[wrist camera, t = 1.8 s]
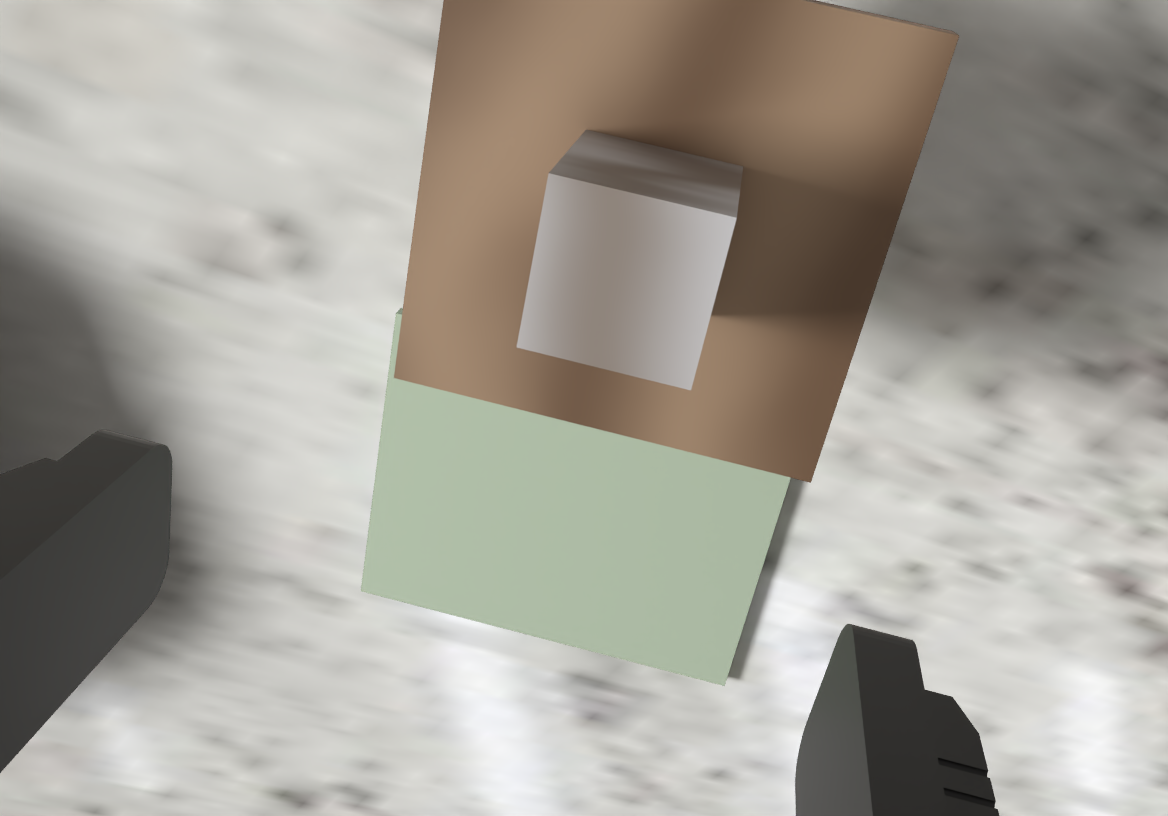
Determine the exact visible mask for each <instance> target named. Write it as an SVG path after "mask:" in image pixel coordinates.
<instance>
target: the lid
mask: <svg viewBox="0 0 1168 816" xmlns="http://www.w3.org/2000/svg"><path fill="white" fill-rule="evenodd" d="M958 38H959V35H958V34H956V33H955V32H953V31H950V30H945V29H941V28H936V27H932V26H927V25H923V24H918V23H914V22H909V21H905V20H900V19H896V18H892V17H887V16H883V15H878V14H874V13H869V12H865V11H860V10H856V9H851V8H847V7H842V6H838V5H834V4H829V3H825V2H820V1H816V0H444V2H443V10H442V17H441V25H440V32H439V40H438V48H437V55H436V63H435V70H434V78H433V85H432V93H431V100H430V108H429V115H428V123H427V131H426V138H425V146H424V153H423V161H422V168H421V176H420V183H419V191H418V199H417V206H416V214H415V221H414V229H413V236H412V244H411V251H410V259H409V266H408V274H407V282H406V289H405V297H404V304H403V312H402V319H401V327H400V334H399V342H398V350H397V357H396V365H395V372H394V378H396V379H400V380H404V381H408V382H412V383H416V384H419V385H423V386H427V387H431V388H435V389H439V390H443V391H447V392H451V393H455V394H459V395H463V396H467V397H471V398H475V399H479V400H483V401H487V402H491V403H495V404H499V405H503V406H507V407H511V408H515V409H519V410H523V411H527V412H531V413H535V414H539V415H543V416H547V417H551V418H555V419H559V420H563V421H567V422H571V423H575V424H579V425H583V426H587V427H591V428H595V429H599V430H603V431H607V432H611V433H615V434H619V435H623V436H627V437H631V438H635V439H639V440H643V441H647V442H651V443H655V444H659V445H663V446H667V447H671V448H675V449H679V450H683V451H687V452H691V453H695V454H699V455H703V456H707V457H711V458H715V459H719V460H723V461H727V462H731V463H735V464H739V465H743V466H747V467H751V468H755V469H759V470H763V471H767V472H771V473H775V474H779V475H783V476H786V477H790V478H794V479H798V480H802V481H806V482H810V483H811V480H812V477H813V474H814V471H815V468H816V465H817V462H818V459H819V456H820V453H821V450H822V447H823V444H824V441H825V438H826V435H827V432H828V429H829V426H830V423H831V420H832V417H833V414H834V411H835V408H836V405H837V402H838V399H839V396H840V393H841V390H842V387H843V384H844V381H845V378H846V375H847V372H848V369H849V366H850V363H851V360H852V357H853V354H854V351H855V348H856V345H857V342H858V339H859V336H860V333H861V330H862V327H863V324H864V321H865V318H866V315H867V312H868V309H869V306H870V303H871V300H872V297H873V294H874V291H875V288H876V285H877V282H878V279H879V276H880V273H881V270H882V267H883V264H884V261H885V258H886V255H887V252H888V249H889V246H890V243H891V240H892V237H893V234H894V231H895V228H896V225H897V222H898V219H899V215H900V212H901V209H902V206H903V203H904V200H905V197H906V194H907V191H908V188H909V185H910V182H911V179H912V176H913V173H914V170H915V167H916V164H917V161H918V158H919V155H920V152H921V149H922V146H923V143H924V140H925V137H926V134H927V131H928V128H929V125H930V122H931V119H932V116H933V113H934V110H935V107H936V104H937V101H938V98H939V95H940V92H941V89H942V86H943V83H944V80H945V77H946V74H947V71H948V68H949V65H950V62H951V59H952V56H953V53H954V50H955V47H956V44H957V41H958Z"/></svg>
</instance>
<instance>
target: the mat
mask: <svg viewBox="0 0 1168 816" xmlns="http://www.w3.org/2000/svg"><path fill="white" fill-rule="evenodd" d="M402 312H403V309H402V308H401V309H400V310H399V311H398V312H397V313H396V317H395V325H394V333H393V341H392V349H391V357H390V365H389V372H388V380H387V388H386V396H385V404H384V412H383V420H382V428H381V436H380V443H379V451H378V459H377V467H376V475H375V483H374V491H373V499H372V507H371V514H370V522H369V530H368V538H367V546H366V554H365V562H364V570H363V578H362V585H361V591H362V592H366V593H370V594H374V595H378V596H381V597H385V598H389V599H393V600H397V601H401V602H404V603H408V604H412V605H416V606H420V607H424V608H427V609H431V610H435V611H439V612H443V613H447V614H450V615H454V616H458V617H462V618H466V619H470V620H473V621H477V622H481V623H485V624H489V625H493V626H496V627H500V628H504V629H508V630H512V631H516V632H519V633H523V634H527V635H531V636H535V637H539V638H542V639H546V640H550V641H554V642H558V643H562V644H565V645H569V646H573V647H577V648H581V649H585V650H588V651H592V652H596V653H600V654H604V655H608V656H611V657H615V658H619V659H623V660H627V661H631V662H635V663H638V664H642V665H646V666H650V667H654V668H658V669H661V670H665V671H669V672H673V673H677V674H681V675H684V676H688V677H692V678H696V679H700V680H704V681H707V682H711V683H715V684H719V685H723V686H725V683H726V680H727V676H728V673H729V670H730V667H731V664H732V661H733V658H734V654H735V651H736V648H737V645H738V642H739V639H740V636H741V633H742V629H743V626H744V623H745V620H746V617H747V614H748V611H749V607H750V604H751V601H752V598H753V595H754V592H755V589H756V586H757V582H758V579H759V576H760V573H761V570H762V567H763V564H764V560H765V557H766V554H767V551H768V548H769V545H770V542H771V538H772V535H773V532H774V529H775V526H776V523H777V520H778V517H779V513H780V510H781V507H782V504H783V501H784V498H785V495H786V491H787V488H788V485H789V482H790V479H791V478H790V477H786V476H783V475H779V474H775V473H771V472H767V471H763V470H759V469H755V468H751V467H747V466H743V465H739V464H735V463H731V462H727V461H723V460H719V459H715V458H711V457H707V456H703V455H699V454H695V453H691V452H687V451H683V450H679V449H675V448H671V447H667V446H663V445H659V444H655V443H651V442H647V441H643V440H639V439H635V438H631V437H627V436H623V435H619V434H615V433H611V432H607V431H603V430H599V429H595V428H591V427H587V426H583V425H579V424H575V423H571V422H567V421H563V420H559V419H555V418H551V417H547V416H543V415H539V414H535V413H531V412H527V411H523V410H519V409H515V408H511V407H507V406H503V405H499V404H495V403H491V402H487V401H483V400H479V399H475V398H471V397H467V396H463V395H459V394H455V393H451V392H447V391H443V390H439V389H435V388H431V387H427V386H423V385H419V384H416V383H412V382H408V381H404V380H400V379H396V378H394V372H395V365H396V357H397V350H398V342H399V334H400V327H401V319H402Z"/></svg>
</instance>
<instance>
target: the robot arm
mask: <svg viewBox="0 0 1168 816" xmlns="http://www.w3.org/2000/svg"><path fill="white" fill-rule="evenodd" d="M171 486H172V457H171V453H170V450H169V449H168V447H167V446H165V445H162V444H159V443H155V442H151V441H147V440H143V439H139V438H135V437H132V436H128V435H124V434H120V433H116V432H112V431H108V430H100V431H97V432H95V433H94V434H92V435H91V436H90V437H88V438H87V439H86V440H85V441H83V442H82V443H81V444H79V445H78V446H77V447H75V448H74V449H73V450H72V451H70V452H69V453H68V454H66V455H65V456H64V457H62V458H61V459H60V460H59V461H54V460H50V459H46V458H45V459H42V460H39V461H36V462H34V463H31V464H28V465H25V466H23V467H20V468H17V469H14V470H12V471H9V472H6V473H3V474H1V475H0V773H1V771H2V770H3V769H4V768H5V767H6V766H7V765H8V764H9V763H10V761H11V760H12V759H13V758H14V757H15V756H16V755H17V754H18V753H19V751H20V750H21V749H22V748H23V747H24V746H25V745H26V744H27V742H28V741H29V740H30V739H31V738H32V737H33V736H34V735H35V734H36V732H37V731H38V730H39V729H40V728H41V727H42V726H43V725H44V724H45V722H46V721H47V720H48V719H49V718H50V717H51V716H52V715H53V713H54V712H55V711H56V710H57V709H58V708H59V707H60V706H61V705H62V703H63V702H64V701H65V700H66V699H67V698H68V697H69V696H70V695H71V693H72V692H73V691H74V690H75V689H76V688H77V687H78V686H79V684H80V683H81V682H82V681H83V680H84V679H85V678H86V677H87V676H88V674H89V673H90V672H91V671H92V670H93V669H94V668H95V667H96V666H97V664H98V663H99V662H100V661H101V660H102V659H103V658H104V657H105V656H106V654H107V653H108V652H109V651H110V650H111V649H112V648H113V647H114V645H115V644H116V643H117V642H118V641H119V640H120V639H121V638H122V637H123V635H124V634H125V633H126V632H127V631H128V630H129V629H130V628H131V627H132V625H133V624H134V623H135V622H136V621H137V620H138V619H139V618H140V616H141V615H142V614H143V613H144V612H145V611H146V610H147V609H148V607H149V606H150V605H151V603H152V602H153V600H154V599H155V597H156V595H157V593H158V591H159V589H160V587H161V584H162V582H163V579H164V576H165V573H166V569H167V565H168V558H169V539H170V512H171ZM987 772H988V768H987V764H986V760H985V756H984V752H983V748H982V744H981V740H980V736H979V733H978V732H977V730H976V729H975V728H974V726H973V725H972V723H971V722H970V721H969V719H968V718H967V717H966V715H965V714H964V712H963V711H962V710H961V708H960V707H959V705H958V704H957V703H956V701H955V700H954V699H953V697H951V696H947V695H943V694H939V693H936V692H932V691H928V690H925V689H924V684H923V679H922V674H921V668H920V663H919V658H918V653H917V648H916V645H915V643H914V641H913V640H910V639H906V638H902V637H898V636H894V635H890V634H887V633H883V632H879V631H875V630H871V629H867V628H863V627H859V626H856V625H852V624H847V625H846V626H845V627H844V628H843V630H842V631H841V633H840V636H839V638H838V640H837V643H836V646H835V648H834V651H833V654H832V656H831V659H830V662H829V664H828V667H827V670H826V672H825V675H824V678H823V680H822V683H821V686H820V688H819V691H818V694H817V696H816V699H815V702H814V705H813V707H812V710H811V713H810V715H809V718H808V721H807V723H806V726H805V729H804V733H803V736H802V740H801V744H800V749H799V754H798V759H797V766H796V778H795V793H796V816H999V813H998V809H995V808H994V806H995V802H996V801H995V797H994V793H993V789H992V785H991V781H990V778H988V777H987Z"/></svg>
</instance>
